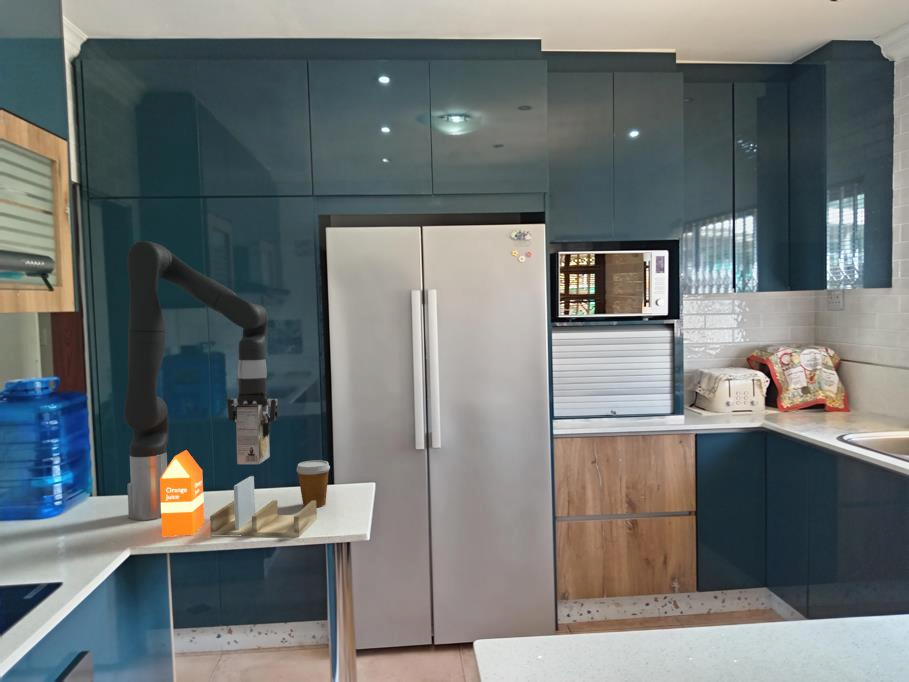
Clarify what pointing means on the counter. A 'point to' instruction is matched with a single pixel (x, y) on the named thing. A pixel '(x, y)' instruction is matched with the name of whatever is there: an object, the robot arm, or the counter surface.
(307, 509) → the rack
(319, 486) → the disposable coffee cup
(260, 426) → the coffee box
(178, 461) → the orange juice
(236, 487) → the pale grey flat panel
